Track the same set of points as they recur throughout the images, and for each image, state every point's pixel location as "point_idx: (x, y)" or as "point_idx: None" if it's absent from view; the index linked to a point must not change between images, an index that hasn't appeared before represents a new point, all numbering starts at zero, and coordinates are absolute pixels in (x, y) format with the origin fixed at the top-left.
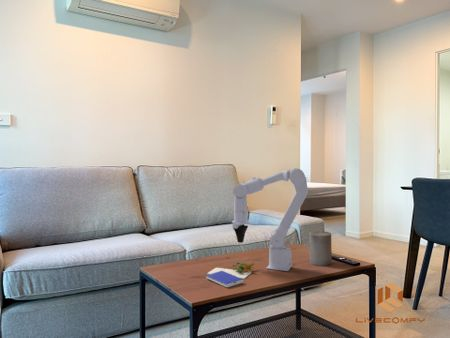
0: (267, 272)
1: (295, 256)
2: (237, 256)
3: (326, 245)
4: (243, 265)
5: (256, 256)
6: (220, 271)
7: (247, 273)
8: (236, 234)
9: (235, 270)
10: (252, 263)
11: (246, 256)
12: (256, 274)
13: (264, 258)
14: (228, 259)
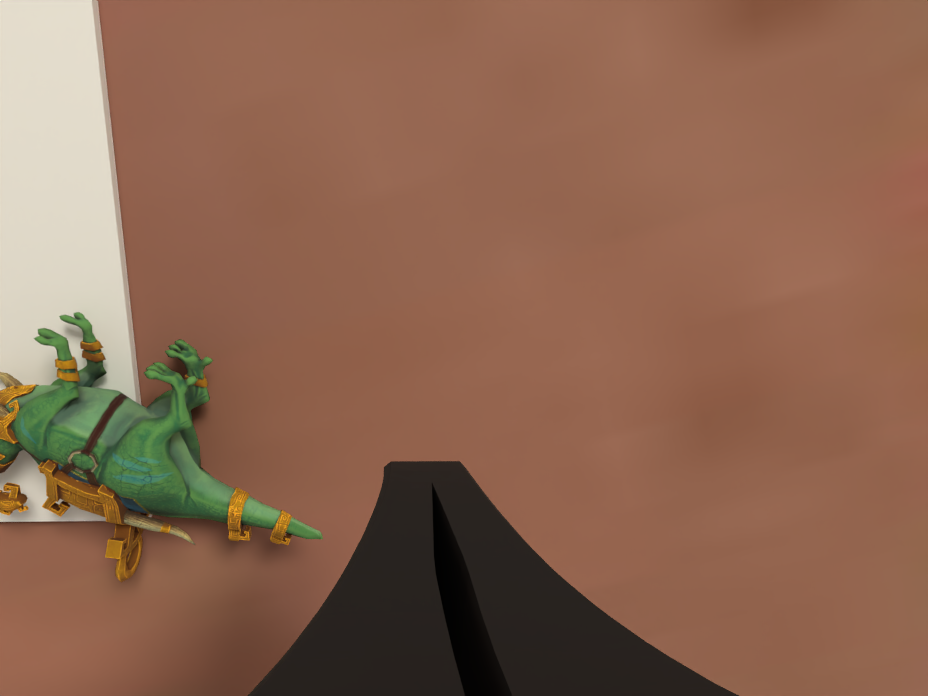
0: (250, 635)
1: (889, 690)
2: (866, 130)
3: None
4: (69, 488)
5: (876, 372)
6: None
7: (58, 501)
8: (332, 602)
9: (99, 338)
10: (283, 531)
11: (871, 254)
12: None
13: (791, 474)
14: (680, 40)
